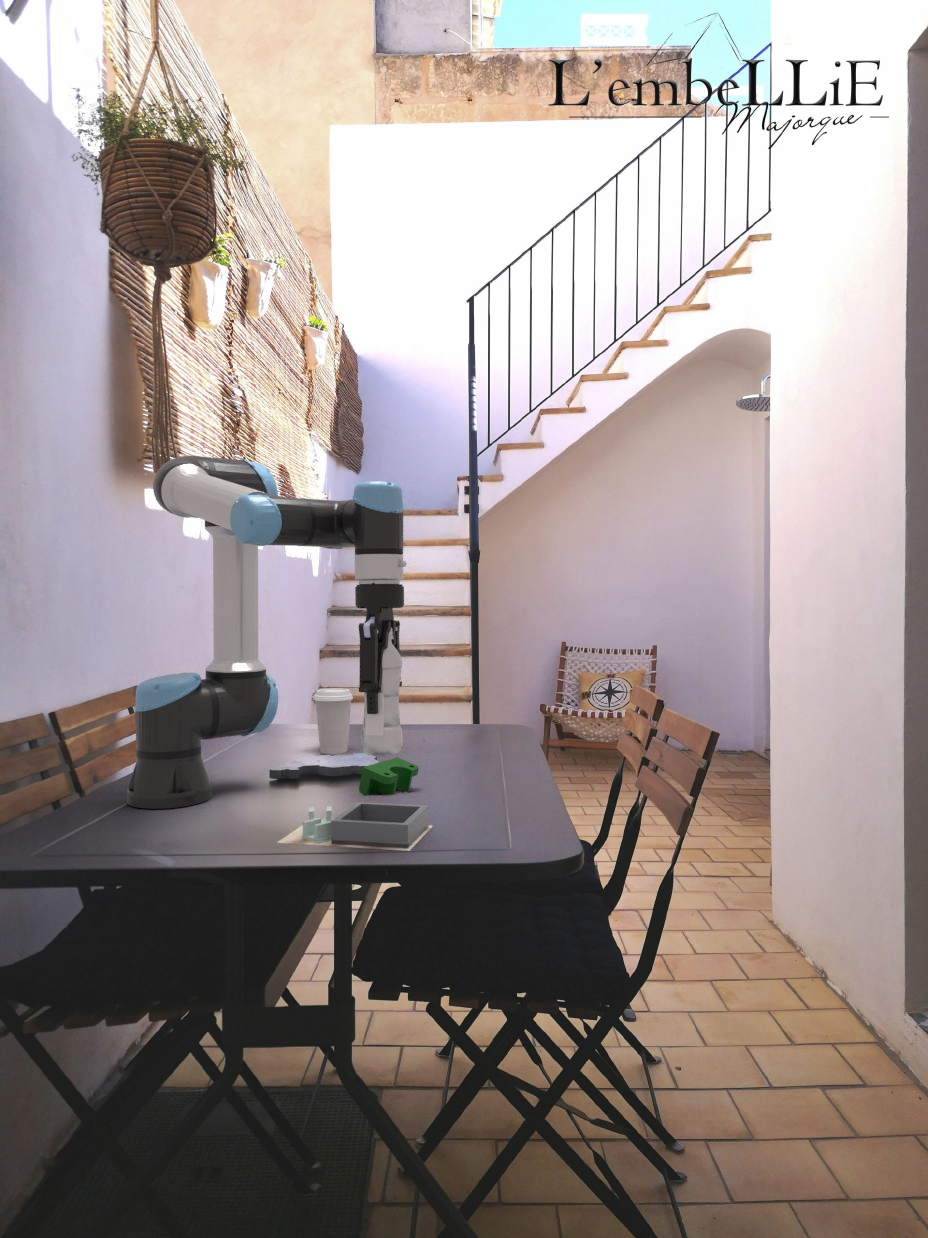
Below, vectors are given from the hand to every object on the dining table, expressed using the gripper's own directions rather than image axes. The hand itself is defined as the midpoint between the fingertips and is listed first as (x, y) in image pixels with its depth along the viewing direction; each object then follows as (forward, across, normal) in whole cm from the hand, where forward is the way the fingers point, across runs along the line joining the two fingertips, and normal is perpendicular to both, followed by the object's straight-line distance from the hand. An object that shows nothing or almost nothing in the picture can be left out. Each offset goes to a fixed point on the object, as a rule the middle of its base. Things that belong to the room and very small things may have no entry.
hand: (381, 731), depth 138 cm
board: (+17, 0, +4) cm, 18 cm away
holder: (+16, 0, 0) cm, 16 cm away
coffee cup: (+17, +71, +35) cm, 81 cm away
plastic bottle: (+4, 0, 0) cm, 4 cm away
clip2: (+16, -4, +9) cm, 19 cm away
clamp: (+18, +32, +9) cm, 38 cm away
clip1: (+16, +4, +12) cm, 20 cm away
